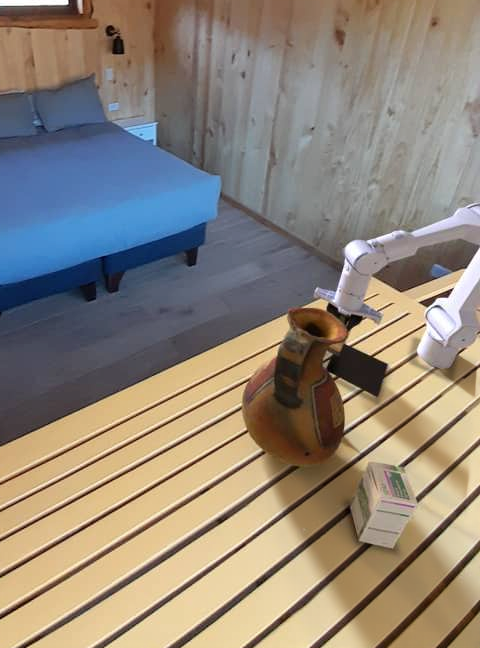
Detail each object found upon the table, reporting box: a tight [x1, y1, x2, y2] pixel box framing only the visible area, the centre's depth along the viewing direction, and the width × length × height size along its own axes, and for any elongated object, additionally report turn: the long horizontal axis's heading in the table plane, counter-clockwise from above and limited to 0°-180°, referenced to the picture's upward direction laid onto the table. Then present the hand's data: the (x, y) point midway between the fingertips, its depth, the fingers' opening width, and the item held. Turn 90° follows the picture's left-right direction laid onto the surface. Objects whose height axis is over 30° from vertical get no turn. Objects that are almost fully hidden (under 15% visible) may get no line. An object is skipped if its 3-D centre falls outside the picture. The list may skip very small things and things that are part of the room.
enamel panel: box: [325, 343, 389, 398], centre depth 100 cm, size 12×12×2 cm
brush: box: [326, 312, 352, 356], centre depth 99 cm, size 9×4×10 cm, turn 138°
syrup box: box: [349, 461, 419, 549], centre depth 69 cm, size 6×6×14 cm
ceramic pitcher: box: [241, 306, 349, 467], centre depth 81 cm, size 20×20×30 cm
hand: (338, 330), depth 100 cm, fingers closed on brush, 2 cm apart
